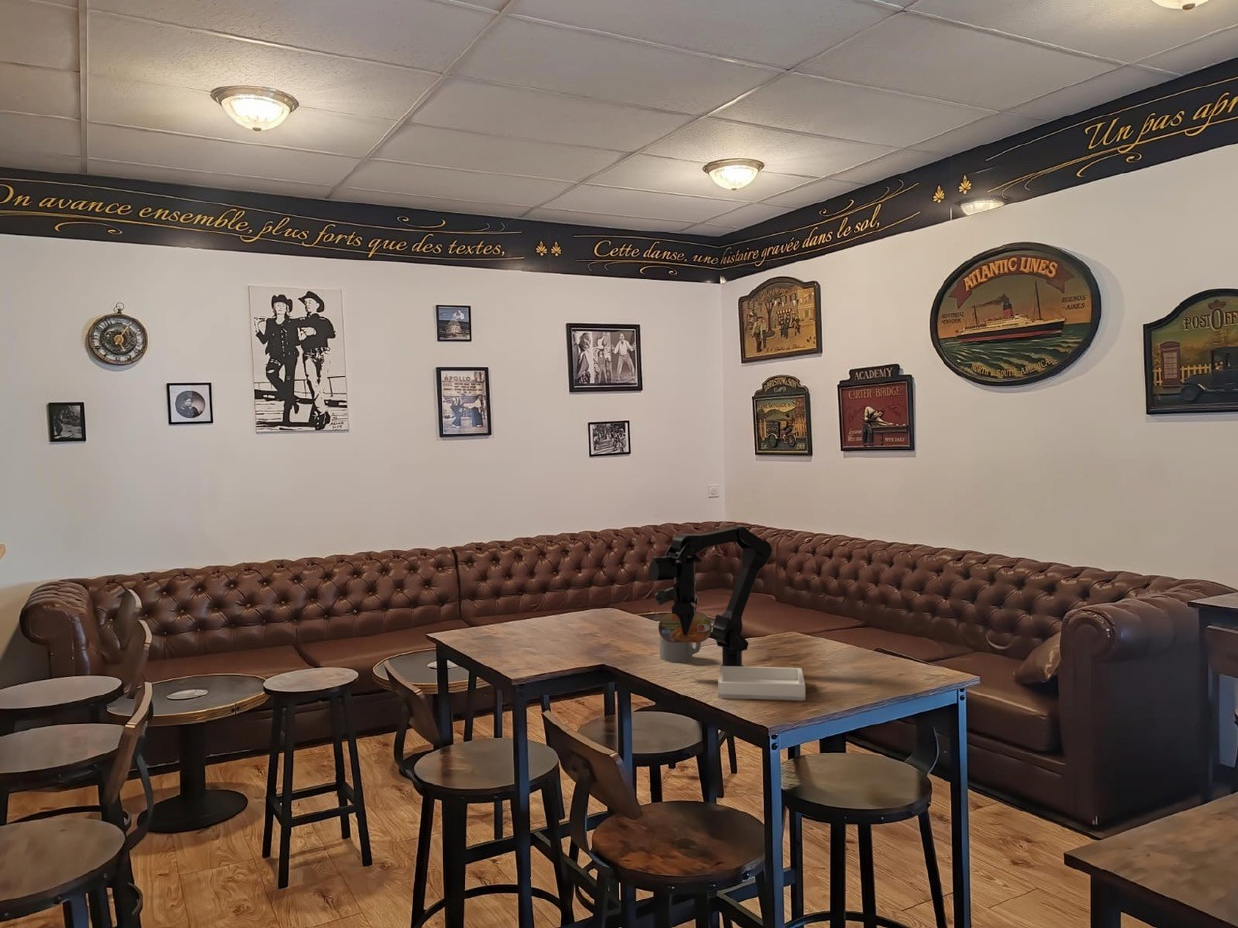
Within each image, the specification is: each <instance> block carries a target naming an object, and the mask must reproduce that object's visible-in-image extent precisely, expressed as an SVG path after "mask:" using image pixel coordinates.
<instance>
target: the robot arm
mask: <svg viewBox="0 0 1238 928" xmlns="http://www.w3.org/2000/svg"><path fill="white" fill-rule="evenodd" d="M733 542H735V543H736V545H737V546H738V547H739V548H740V549H741V550H742V554H741V563H742V564H741V565H742V567H741V569H740V572H739V575H738V578H737V580H736V583H735V586H734V588H733V591H732V593H731V596H730V597H729V598H730V599H729V602H728V603H727V607H726V609H725V611H724V613H722V614H721V615H720V614H716V615H715V618H714V622H713V624H711V625H712V631H711V635H712V637H713V639H714V640H715V642H716V645H717V647H720V648H722V649H721V650H722V651H721V652H722V653H721V654H722V657H721V658H722V660H721V663H722V664H720V666H741V667H745V665H744V664H743V652H744V651H747V650H748V648H749V641H748V640H746V638H744V637H743V635H742V632H743V619H742V618H743V615H744V612H745V609H746V607H747V602H748V600H749V599H750V596H751V593H752V590H753V588H754V584H755V583H756V579H757V576H758V574H759V572H760V570H762V569H763V568H764V567H765V566H766V565H767V563H768V561H769V560H770V558H771V556H772V553H773V548H772V545H771V544H770V542H769V541H767V540H763V539H762V538H761V537H759V536H758V535H756V534H755V533H753V532H751V531H750V530H749V529H747V528H746V527H745V526H741V525H733V526H731V527H726V528H722V529H718V530H713V531H708V532H704V533H678V534H675V535H674V536H673V538H672V540H671V544H670V545H669V547H668V549H667V550H666V552H665V553H664V555H663V556H653V557H651V558H652V561H651V562H650V563H649V566H648V576H649V578H650V580H651V581H652V582H664V581H673V580H674V583H673V584H672V587H669V588H666V589H664V588H661V590H658V591H657V592H656V593H654V597H655V601H656V602H657V603H656V604H657V605H658V606H662V605H663V604H665V603H668V602H672V601H673V604H672V605H671V613H672V614H676V615H677V616H678V617H679V619H680V623H681V627H682V632H683V635H687V634H688V631H689V628H690V625H691V623H692V620H693V617H694V614H695V612H696V611H697V608H698V606H696V605H698V604H699V596H698V595H697V594H696V584H697V583H696V563H702V561H703V560H702V559H701V558H700V557H699V556H698V555H697V554H699V553H701V552H702V551H704V550H705V549H707V548H711V547H714V546H715V547H716V546H718V545H719V546H720V545H724V544H727V543H733Z"/></svg>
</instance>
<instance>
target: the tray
mask: <svg viewBox="0 0 1238 928" xmlns="http://www.w3.org/2000/svg"><path fill="white" fill-rule="evenodd" d="M803 673H804V672H803V670H802V667H774V666H770V667H769V666H744V667H741V666H721V665H720V667H719V675H718V682H717V690H718V691H717V698H718V699H740V700H772V701H775V700H776V701H777V700H778V701H806V683H805V678H804V677H805V676H804V674H803Z"/></svg>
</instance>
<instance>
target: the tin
mask: <svg viewBox="0 0 1238 928" xmlns="http://www.w3.org/2000/svg"><path fill="white" fill-rule="evenodd" d="M711 621H712V620H711V619H710V618H709V617H708V616H707V615H706V614H704V613H702V612H696V611H695V614H694V617H693V620H692V623H691V625H690V628H689V631H688V634H687V635H683V632H682V627H681V623H680V619H679V617H678V616H677V615H676V614H672V612H669V613H666V614H664V615H663V616H662V617H661V618H660V620H659V623H658V633H659V636H660V635H661V637H662V638H663V639H664V640H666V641H668V642H671V643H692V644H693V643H694V644H696V643H699V642H701V643H703V642H705V641H707V640H708V639H709V637H710V636H711V635H712V629H713V628H712V625H713V624H712V622H711Z"/></svg>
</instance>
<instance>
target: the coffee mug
mask: <svg viewBox="0 0 1238 928" xmlns="http://www.w3.org/2000/svg"><path fill="white" fill-rule="evenodd" d="M693 646H694V645H693V643H671V642H668V641H666V640H664V639H663V638H662V637H661V635H660V634H659V660H661V659H662V660H665V661H664V662H666V661H668V662H667V663H684V662H683V661H687V662H690V661H692V660H693V655H695V654H698V653H699V652H700V649H701V646H702V642H699V643H695V648H694V647H693ZM691 659H692V660H691ZM662 660H661V661H662ZM689 660H690V661H689Z"/></svg>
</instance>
